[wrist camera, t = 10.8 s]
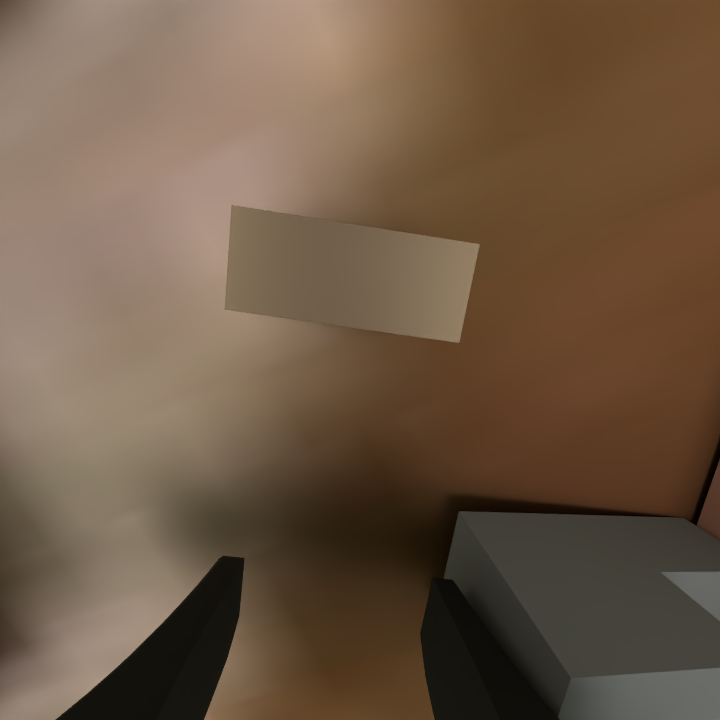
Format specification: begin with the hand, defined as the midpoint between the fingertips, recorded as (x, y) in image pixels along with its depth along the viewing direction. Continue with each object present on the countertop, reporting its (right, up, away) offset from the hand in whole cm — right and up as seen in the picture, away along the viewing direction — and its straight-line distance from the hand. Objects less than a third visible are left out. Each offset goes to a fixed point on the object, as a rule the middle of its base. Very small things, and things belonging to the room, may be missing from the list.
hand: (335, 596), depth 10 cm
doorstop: (+8, -1, +2) cm, 8 cm away
